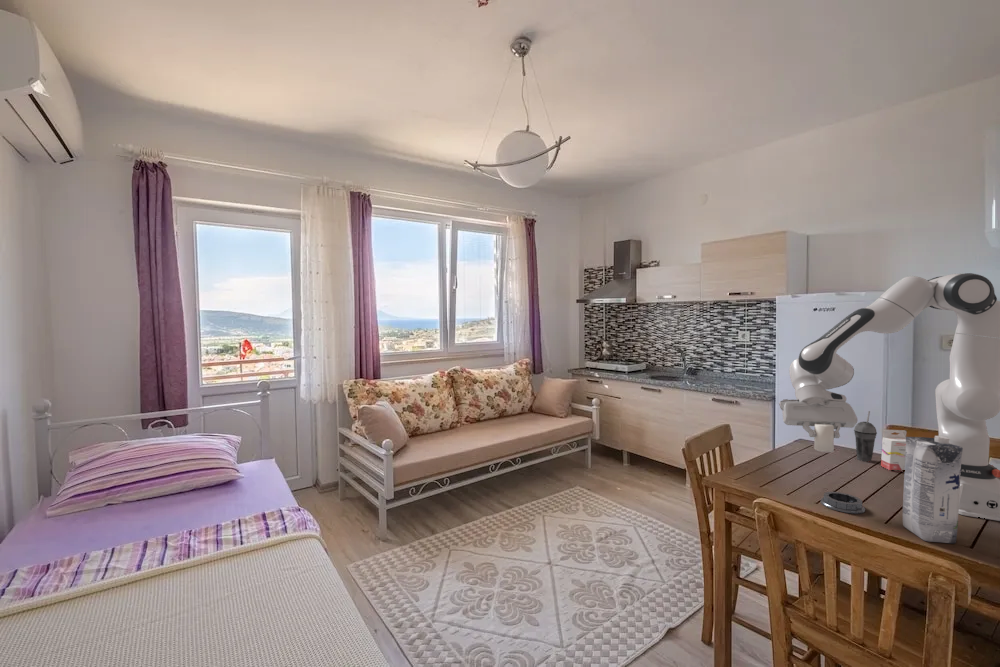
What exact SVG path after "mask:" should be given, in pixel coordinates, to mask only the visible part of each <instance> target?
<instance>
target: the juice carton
mask: <svg viewBox="0 0 1000 667" xmlns="http://www.w3.org/2000/svg"><path fill="white" fill-rule="evenodd" d="M949 440H950V439H949V438H947V437H942V436H939V435H934V437H926V436H925V437H924V436H906V453H905V472H903V473H904V475H903V478H904V479H903V497H902V498H903V500H902V526H903V527H904V528H905V529H906V530H908V531H910V532H911V533H913V534H914V535H915V536H917V537H918V538H919V539H921V540H922V541H925V542H931V543H941V544H942V543H944V544H953V545H954V544H956V543H957V540H958V539H957V537H958V528H959V527H958V526H959V513H958V512H959V493H960V475H961V457H962V450H963V448H962V447H960V446H957V445H953V444H949Z"/></svg>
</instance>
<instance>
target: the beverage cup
mask: <svg viewBox="0 0 1000 667" xmlns="http://www.w3.org/2000/svg"><path fill="white" fill-rule="evenodd" d="M870 415H871V411H870V410H868V411H867V417H866V421H860V422H857V423H856V425H855V426H854V429H853V431H854V432H853V434H854V436H855V450H856V459H857V461H860V460H862V461H861V462H865V461H871V462H872V460H873V456H874V455H873V454H874V450H875V449H874V448H875V447H874V446H875V440H876V438H877V434H878V432H877V428H876V427H875V425H874V424H872V423H871V422H869V419H870Z"/></svg>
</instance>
